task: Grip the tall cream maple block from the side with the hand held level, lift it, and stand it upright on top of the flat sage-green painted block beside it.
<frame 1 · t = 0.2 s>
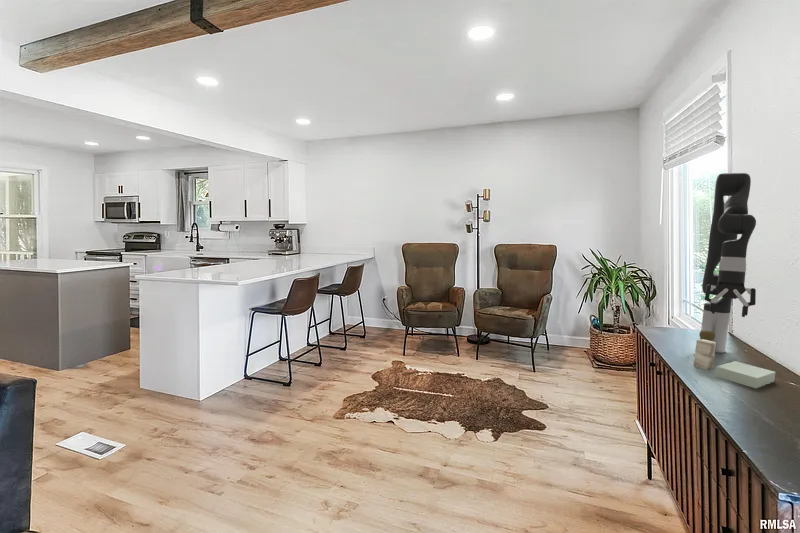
hand: (727, 315, 150), 22 cm above the sideboard top, tool pointing down, fingers open, 8 cm apart
sage block: (744, 379, 148), on the sideboard top
brown rounded piece: (704, 357, 172), on the sideboard top
maple block: (703, 366, 160), on the sideboard top
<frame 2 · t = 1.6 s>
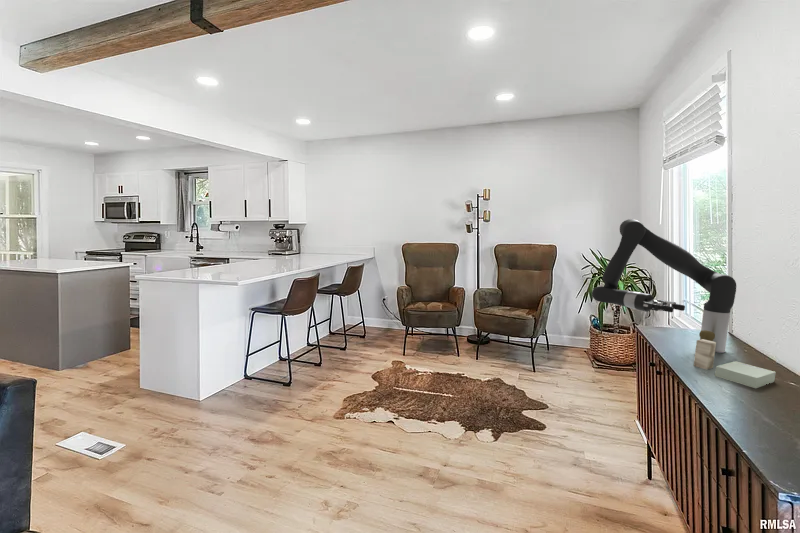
hand: (678, 309, 167), 20 cm above the sideboard top, tool horizontal, fingers open, 8 cm apart
nothing on the sideboard top moved.
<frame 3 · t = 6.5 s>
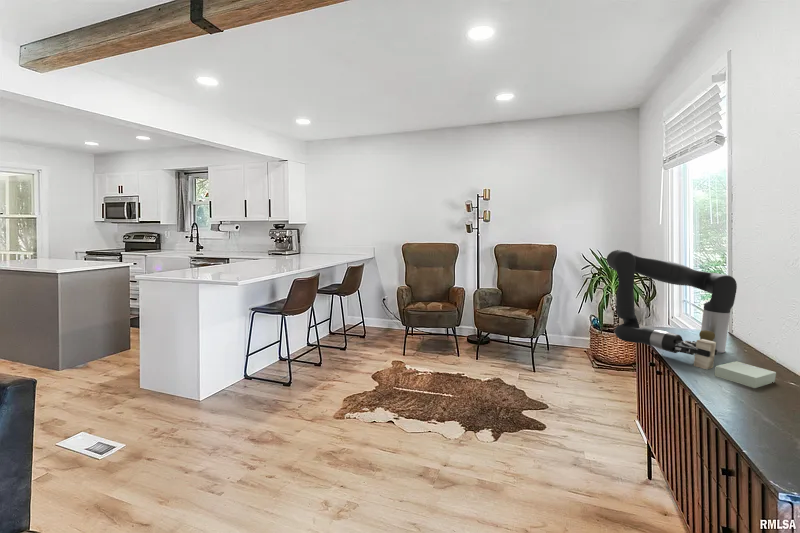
hand: (713, 353, 157), 6 cm above the sideboard top, tool horizontal, fingers closed on maple block, 4 cm apart
maple block: (703, 366, 160), on the sideboard top, touching gripper
everything else where it was.
when the fingers open (10 cm above the sideboard top, at t = 12.8 s): maple block stays where it is, resting on sage block.
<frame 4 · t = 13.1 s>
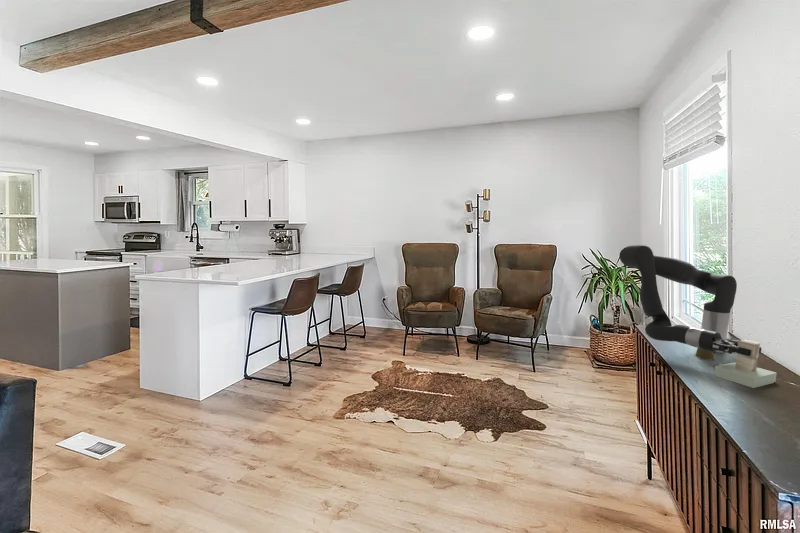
hand: (755, 351, 145), 10 cm above the sideboard top, tool horizontal, fingers open, 7 cm apart
sage block: (744, 380, 148), on the sideboard top, touching maple block
maple block: (745, 369, 148), point 3 cm above the sideboard top, touching sage block
everything else where it was.
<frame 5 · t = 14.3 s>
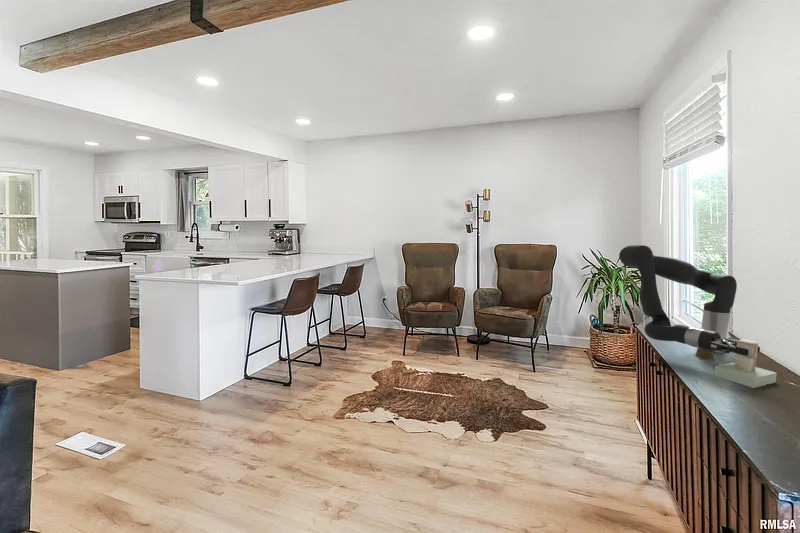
hand: (753, 351, 146), 10 cm above the sideboard top, tool horizontal, fingers open, 8 cm apart
nothing on the sideboard top moved.
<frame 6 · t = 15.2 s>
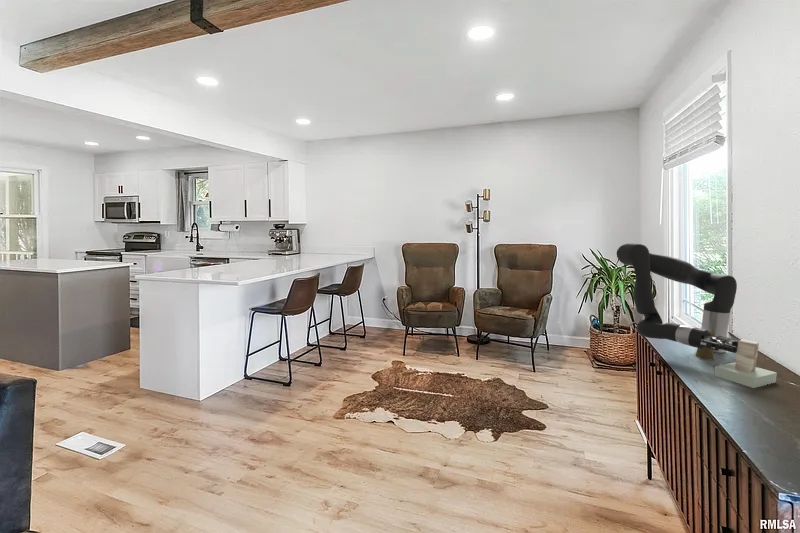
hand: (742, 348, 149), 10 cm above the sideboard top, tool horizontal, fingers open, 8 cm apart
sage block: (744, 380, 148), on the sideboard top
maple block: (744, 369, 148), point 3 cm above the sideboard top
everything else where it was.
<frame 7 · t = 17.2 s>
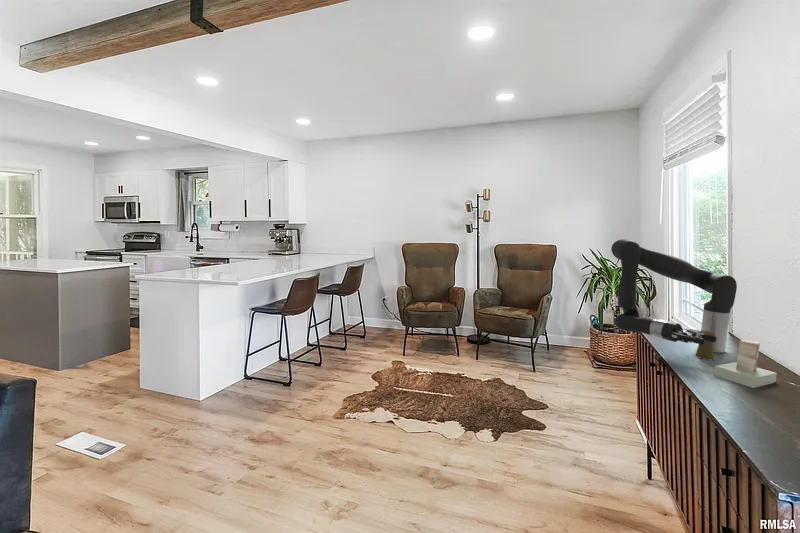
hand: (710, 340, 157), 10 cm above the sideboard top, tool horizontal, fingers open, 8 cm apart
sage block: (743, 380, 148), on the sideboard top, touching maple block
maple block: (746, 369, 148), point 3 cm above the sideboard top, touching sage block
everything else where it was.
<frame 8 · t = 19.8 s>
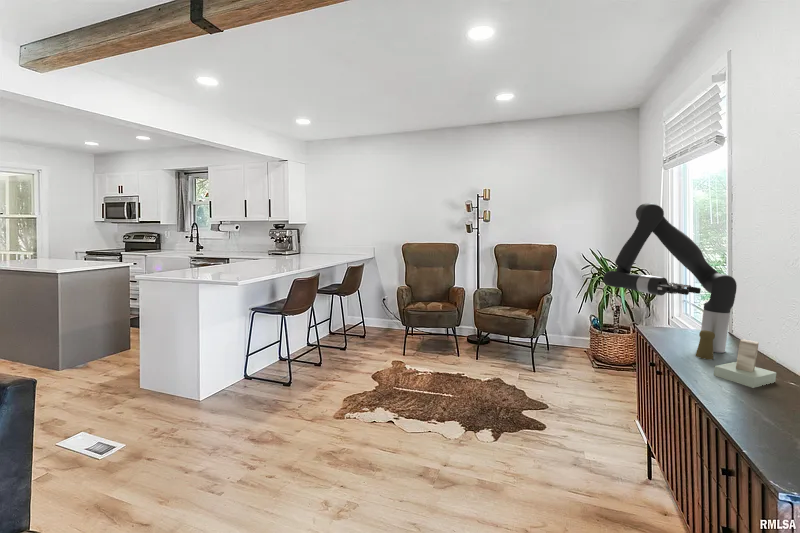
hand: (694, 291, 162), 28 cm above the sideboard top, tool horizontal, fingers open, 8 cm apart
nothing on the sideboard top moved.
at the end: maple block inside the target area on the sage block (0.3 cm from its centre), point 4.1 cm above the sage block's base; maple block tilted 1°; the gripper is holding nothing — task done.
